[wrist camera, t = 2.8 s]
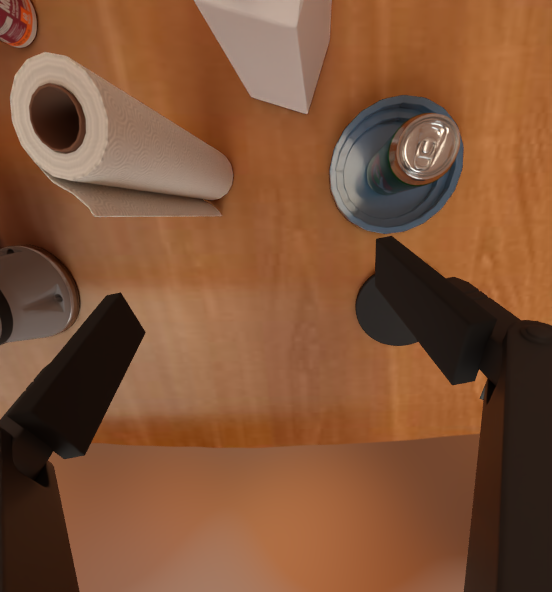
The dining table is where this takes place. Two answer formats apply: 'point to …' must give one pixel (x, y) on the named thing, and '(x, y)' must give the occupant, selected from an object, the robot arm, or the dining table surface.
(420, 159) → the soda can
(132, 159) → the paper towel roll
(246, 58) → the milk carton
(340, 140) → the dish
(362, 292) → the coaster
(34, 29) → the pill bottle
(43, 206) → the dining table surface
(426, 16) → the dining table surface
